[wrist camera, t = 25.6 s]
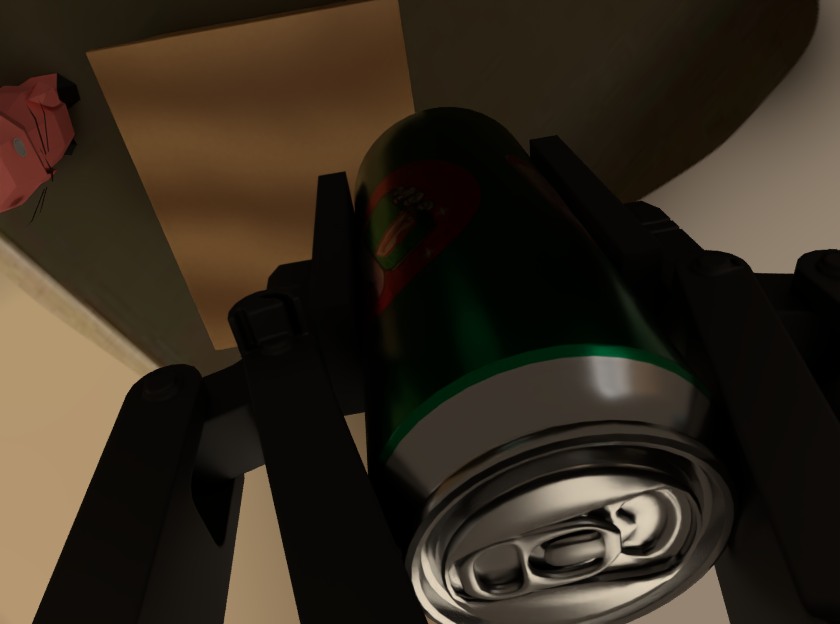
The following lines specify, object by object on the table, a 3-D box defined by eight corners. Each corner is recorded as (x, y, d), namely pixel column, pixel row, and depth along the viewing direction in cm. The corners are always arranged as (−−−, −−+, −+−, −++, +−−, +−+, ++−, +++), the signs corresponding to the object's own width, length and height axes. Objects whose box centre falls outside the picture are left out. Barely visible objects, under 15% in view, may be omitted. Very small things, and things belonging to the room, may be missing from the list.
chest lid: (91, 48, 27) (84, 52, 26) (396, -7, 27) (397, -5, 26) (217, 342, 36) (215, 350, 35) (442, 301, 36) (444, 309, 35)
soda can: (534, 242, 19) (753, 613, 9) (379, 282, 19) (423, 689, 9) (513, 78, 16) (799, 358, 6) (330, 128, 16) (315, 477, 6)
